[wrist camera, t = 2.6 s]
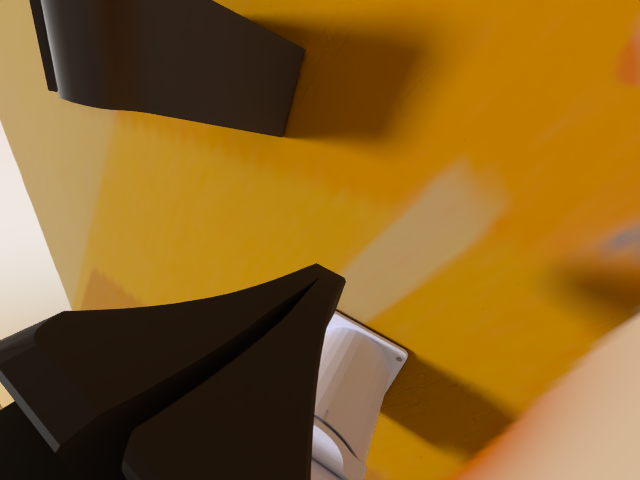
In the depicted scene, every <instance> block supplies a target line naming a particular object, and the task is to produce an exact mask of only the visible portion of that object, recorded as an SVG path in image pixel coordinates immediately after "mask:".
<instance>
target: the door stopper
mask: <svg viewBox="0 0 640 480" xmlns="http://www.w3.org/2000/svg"><path fill="white" fill-rule="evenodd" d="M30 5H31V10H32V15H33V19H34V24H35V29H36V34H37V38H38V43H39V48H40V53H41V57H42V62H43V67H44V72H45V76H46V81H47V86H48V90H49V91H54V92H57V91H58V93H59V98H62V99H64V100H67V101H71V102H74V103H78V104H81V105H86V106H90V107H96V108H102V109H109V110H126V111H137V112H144V113H151V114H156V115H162V116H167V117H173V118H178V119H184V120H189V121H195V122H200V123H206V124H211V125H217V126H222V127H228V128H233V129H239V130H244V131H249V132H255V133H260V134H266V135H271V136H277V137H283V133H284V129H285V126H286V122H287V118H288V114H289V110H290V106H291V102H292V98H293V94H294V90H295V86H296V82H297V78H298V74H299V70H300V66H301V62H302V58H303V55H304V51H305V49H303V48H301V47H299V46H298V45H296V44H294V43H292V42H290V41H288V40H286V39H284V38H282V37H281V36H279V35H277V34H275V33H273V32H271V31H269V30H267V29H265V28H264V27H262V26H260V25H258V24H256V23H254V22H252V21H250V20H248V19H247V18H245V17H243V16H241V15H239V14H237V13H235V12H233V11H231V10H230V9H228V8H226V7H224V6H222V5H220V4H218V3H216V2H214V1H212V0H30Z"/></svg>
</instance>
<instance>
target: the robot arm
mask: <svg viewBox="0 0 640 480" xmlns="http://www.w3.org/2000/svg"><path fill="white" fill-rule="evenodd" d="M345 283H346V281H345V278H344V277H342V276H340V275H338V274H336V273H334V272H332V271H330V270H328V269H326V268H324V267H322V266H321V265H319V264H317V263H316V264H313V265H311V266H308V267H306V268H303V269H301V270H298V271H296V272H293V273H291V274H288V275H285V276H283V277H280V278H277V279H275V280H272V281H269V282H266V283H263V284H260V285H257V286H253V287H250V288H247V289H244V290H240V291H236V292H233V293H229V294H224V295H220V296H215V297H211V298H205V299H199V300H193V301H187V302H181V303H175V304H167V305H158V306H149V307H138V308H125V309H107V310H84V311H63V312H61V313H59V314H57V315H55V316H52V317H50V318H48V319H46V320H43V321H41V322H39V323H37V324H35V325H33V326H31V327H28V328H26V329H24V330H22V331H19V332H17V333H15V334H13V335H11V336H9V337H6V338H4V339H2V340H0V382H1V383H2V385H3V386H4V387H5V389H6V390H7V391H8V392H9V394H10V395H11V396H12V398H13V399H14V400H15V401H14V402H13V403H11V404H9V405H8V406H6V407H4V408H2V406H1V405H0V480H363V479H364V476H365V472H366V468H367V467H366V465H365V462H366V458H367V455H368V451H369V448H370V444H371V441H372V437H373V434H374V430H375V427H376V423H377V419H378V416H379V412H380V409H381V405H382V402H383V398H384V395H385V393H386V392H387V390H388V388H389V387H390V385H391V383H392V382H393V380H394V379H395V377H396V375H397V374H398V372H399V371H400V369H401V367H402V366H403V364H404V363H405V361H406V359H407V357H408V353H407V351H406V350H405V349H403V348H401V347H399V346H397V345H396V344H394V343H392V342H390V341H389V340H387V339H385V338H383V337H381V336H380V335H378V334H376V333H374V332H372V331H371V330H369V329H367V328H365V327H364V326H362V325H360V324H358V323H356V322H355V321H353V320H351V319H349V318H347V317H346V316H344V315H342V314H340V313H338V312H337V311H335V310H336V307H337V305H338V302H339V299H340V296H341V294H342V291H343V288H344V285H345ZM398 357H400V358H401V359H400V358H398Z"/></svg>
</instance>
